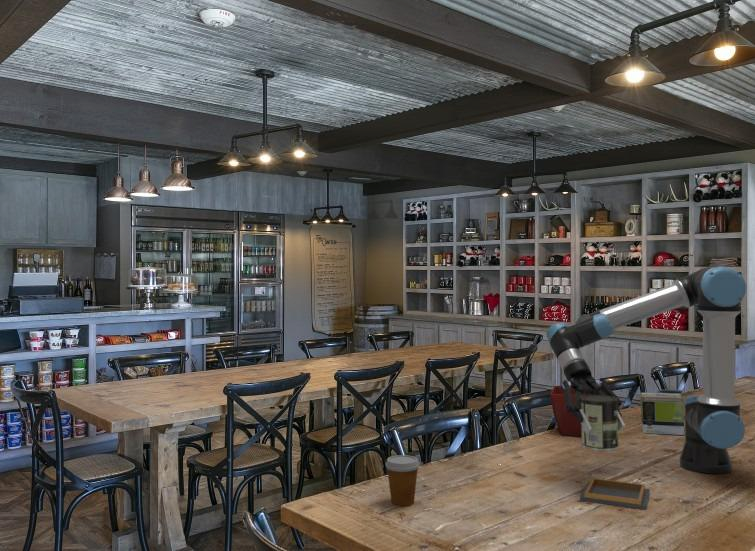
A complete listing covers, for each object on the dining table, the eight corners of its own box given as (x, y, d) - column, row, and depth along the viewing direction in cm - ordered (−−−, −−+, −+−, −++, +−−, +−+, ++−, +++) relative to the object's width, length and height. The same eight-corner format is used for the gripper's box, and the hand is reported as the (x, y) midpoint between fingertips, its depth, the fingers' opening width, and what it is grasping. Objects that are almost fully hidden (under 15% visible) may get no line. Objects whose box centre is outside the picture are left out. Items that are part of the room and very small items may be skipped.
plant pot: (550, 436, 253) (549, 393, 253) (554, 425, 271) (554, 385, 271) (602, 440, 247) (602, 396, 246) (603, 429, 264) (603, 387, 264)
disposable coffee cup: (409, 510, 176) (408, 466, 176) (379, 504, 181) (378, 461, 181) (425, 500, 184) (425, 457, 184) (396, 494, 189) (396, 452, 189)
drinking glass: (687, 421, 275) (687, 393, 275) (663, 422, 276) (663, 393, 275) (676, 416, 286) (676, 389, 285) (653, 416, 286) (653, 389, 286)
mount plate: (649, 492, 188) (649, 484, 188) (645, 509, 175) (645, 501, 175) (588, 484, 196) (588, 477, 196) (580, 500, 182) (580, 492, 182)
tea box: (681, 430, 261) (681, 393, 261) (684, 436, 252) (684, 397, 252) (641, 427, 266) (640, 391, 266) (642, 433, 257) (641, 395, 257)
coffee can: (616, 442, 193) (615, 394, 193) (621, 452, 183) (620, 401, 183) (579, 441, 195) (578, 394, 195) (582, 450, 185) (581, 401, 185)
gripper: (602, 372, 207) (634, 433, 192) (537, 376, 201) (565, 440, 186) (612, 357, 202) (645, 419, 186) (545, 361, 196) (575, 425, 181)
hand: (605, 429), depth 186 cm, fingers closed on coffee can, 10 cm apart
